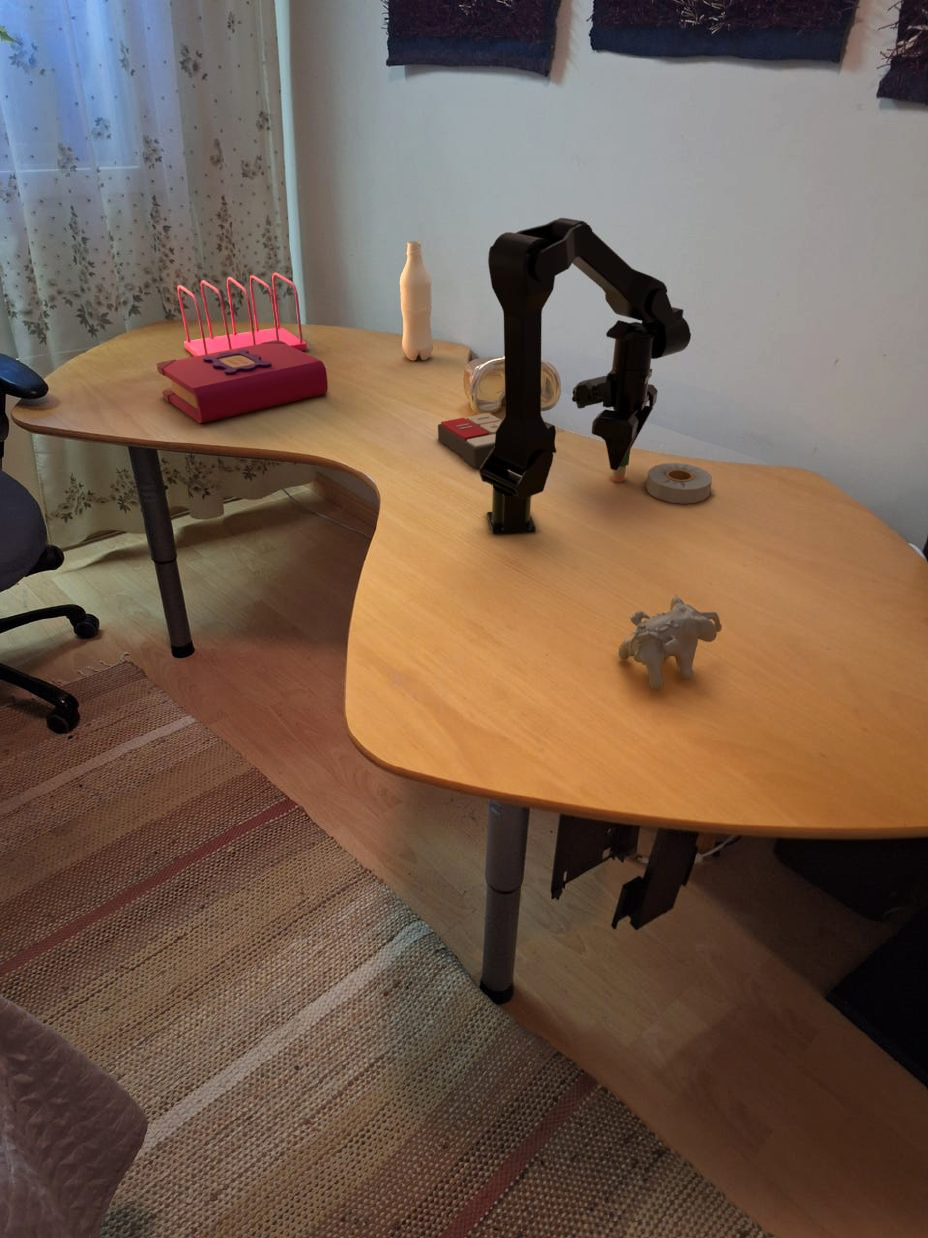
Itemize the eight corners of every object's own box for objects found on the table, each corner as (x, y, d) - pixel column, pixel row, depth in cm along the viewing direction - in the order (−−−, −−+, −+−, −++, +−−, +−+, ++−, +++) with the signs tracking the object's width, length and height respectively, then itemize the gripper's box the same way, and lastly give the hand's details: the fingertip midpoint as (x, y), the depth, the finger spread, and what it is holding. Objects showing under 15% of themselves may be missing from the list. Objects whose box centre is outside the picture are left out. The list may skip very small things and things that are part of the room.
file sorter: (307, 350, 194) (300, 282, 185) (205, 367, 183) (191, 295, 174) (282, 333, 206) (274, 268, 197) (185, 348, 195) (171, 280, 187)
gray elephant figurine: (603, 667, 92) (610, 612, 88) (664, 625, 99) (674, 572, 94) (671, 705, 86) (682, 648, 82) (731, 659, 93) (744, 604, 89)
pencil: (624, 484, 132) (632, 416, 125) (607, 481, 133) (615, 414, 126) (628, 478, 134) (636, 411, 127) (611, 475, 135) (619, 409, 128)
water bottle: (398, 355, 190) (393, 240, 176) (426, 351, 193) (423, 238, 179) (409, 363, 185) (404, 246, 171) (438, 359, 188) (435, 243, 173)
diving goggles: (470, 422, 155) (470, 346, 147) (459, 402, 164) (458, 330, 156) (560, 415, 158) (564, 340, 149) (544, 395, 167) (547, 324, 159)
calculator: (489, 410, 150) (531, 433, 138) (489, 432, 152) (530, 457, 141) (436, 420, 146) (475, 444, 134) (437, 442, 148) (475, 469, 136)
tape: (718, 501, 127) (721, 486, 125) (657, 505, 126) (660, 490, 124) (695, 475, 135) (698, 460, 133) (638, 478, 134) (640, 464, 132)
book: (329, 395, 167) (325, 359, 163) (202, 426, 153) (194, 387, 149) (282, 370, 181) (278, 336, 177) (161, 397, 167) (153, 360, 162)
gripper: (596, 342, 132) (588, 432, 141) (562, 376, 118) (556, 473, 127) (663, 350, 128) (651, 442, 137) (637, 385, 114) (625, 485, 123)
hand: (620, 459), depth 131 cm, fingers open, 8 cm apart
